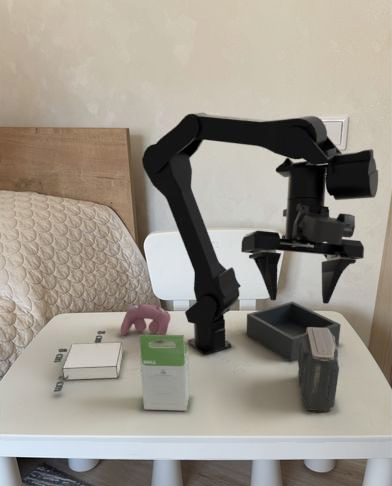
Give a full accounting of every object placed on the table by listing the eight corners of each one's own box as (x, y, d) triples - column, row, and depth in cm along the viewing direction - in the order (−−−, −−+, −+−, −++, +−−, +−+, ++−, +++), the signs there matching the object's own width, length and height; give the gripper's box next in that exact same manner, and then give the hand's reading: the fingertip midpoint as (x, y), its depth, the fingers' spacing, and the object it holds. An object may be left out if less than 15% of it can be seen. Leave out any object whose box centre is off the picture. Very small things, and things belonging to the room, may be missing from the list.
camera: (335, 414, 80) (342, 357, 76) (298, 412, 81) (302, 356, 77) (329, 377, 91) (334, 325, 86) (295, 375, 91) (299, 324, 87)
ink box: (189, 398, 85) (187, 324, 80) (187, 412, 82) (184, 335, 76) (148, 396, 86) (142, 323, 80) (143, 410, 83) (137, 334, 77)
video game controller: (170, 341, 108) (174, 307, 108) (162, 340, 104) (166, 305, 104) (127, 335, 111) (131, 302, 111) (117, 334, 107) (122, 300, 107)
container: (114, 394, 87) (113, 380, 86) (46, 397, 87) (43, 383, 86) (125, 341, 105) (124, 329, 104) (68, 343, 105) (66, 331, 104)
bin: (246, 334, 107) (246, 313, 105) (291, 321, 112) (292, 301, 110) (291, 361, 96) (292, 339, 94) (338, 345, 101) (340, 324, 99)
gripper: (273, 183, 70) (267, 298, 71) (389, 198, 76) (382, 305, 77) (242, 199, 81) (237, 299, 82) (346, 211, 87) (340, 305, 87)
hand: (300, 302), depth 81 cm, fingers open, 9 cm apart
